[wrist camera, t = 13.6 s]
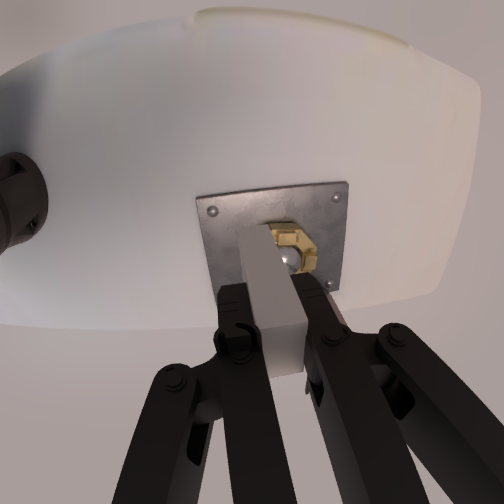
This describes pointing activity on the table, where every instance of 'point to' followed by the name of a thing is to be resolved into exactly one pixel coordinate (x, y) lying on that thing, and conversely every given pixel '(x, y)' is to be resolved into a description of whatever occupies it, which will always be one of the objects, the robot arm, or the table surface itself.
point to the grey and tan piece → (302, 252)
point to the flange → (276, 211)
